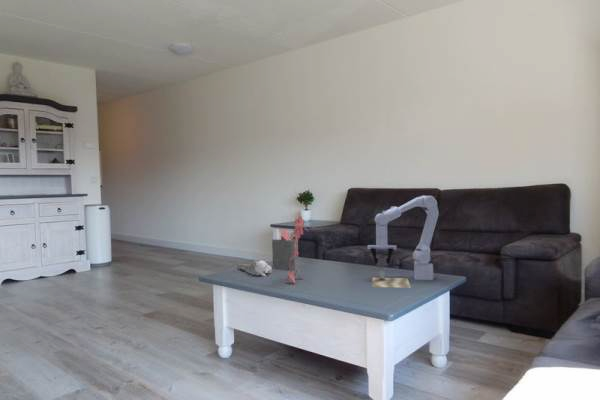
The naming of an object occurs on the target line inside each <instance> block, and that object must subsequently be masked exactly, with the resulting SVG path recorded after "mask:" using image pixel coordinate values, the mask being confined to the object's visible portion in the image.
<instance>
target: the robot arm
mask: <svg viewBox="0 0 600 400" xmlns="http://www.w3.org/2000/svg"><path fill="white" fill-rule="evenodd" d="M415 207H416V208H417V207H420V208H422V209H423V210H424V211H425V213H426V219H425V222H424V226H423V230H422V231H421V232H422V233H421V236H420V240H419V243H418V244H417V246H416V248H415V250H414V251H413V252H412V258H413V260H414V261H413V266H414V267H413V268H414V269H413V270H414V271H413V276H414V277H413V278H414V280H416V281H434V264H433V263H429V262H430V261H431V248H430V245H431V243H432V240H433V237H434V232H435V230H436V225H437V222H438V218H439V214H440V213H439V208H438V201H437V200H436V198H435V197H434V196H433V195H420V196H417V197H414V198H413V199H411V200H409V201H407V202H406V203H404V204H402V205H400V206H399V207H398V206H394V205H393V206H390V208H389V209H387V210H382V212H381V213H377V214H376V215H375V217H374V219H373V220H374V222H375V241H376V243H375V244H368V245H367V250H370V251H371V254H372V256H373V259H374V264H375V265H376V257H377V250H387V257H388V265H389V264H390V261H391V257H392V255H393V252H394V250H396V251H397V245H395V244H388V242H389V241H388V225H389V222H391V221H393V220H396V219H398V218H399V217H401V215H402V213H404V212H406V211H409V210H411V209H413V208H415Z"/></svg>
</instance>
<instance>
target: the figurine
mask: <svg viewBox="0 0 600 400" xmlns="http://www.w3.org/2000/svg"><path fill="white" fill-rule="evenodd" d="M294 222H295V226H294V230H293V232H292V234H291V235H290V236H289V233H288V232H287V231H286V230H284V229H283V228H281V230H280V235H281V236H282V237H283V238H284V239H285V241H288V240H290V238H291V240H292V239H293V241H295V251H294V253H293V254H294V256H295V264H298V258H297V256H299V252H298V242H297V240H299V239H301V236H302V235H304V231H303V229H305V230H306V232H308V233H310V231H309V230H308V229H307V228H306V227H305V226H304V223H305V220H304V219H302V215H298V217H296V218H295V220H294ZM295 238H296V239H297V240H296V239H295ZM294 256H293V257H294ZM293 257H292V258H293ZM292 258H291V259H292ZM291 259H290V260H291ZM290 260H289V263H290ZM297 272H298V274H299V276H300V277H301V279H302V280H303V276H302V274H300V272H299V267H298V265H296V267H295V272H294V274H293V272H292V271H291V267H290V270H288V276H287V278H286V280H285V283H287V282H288V280H289V279H290V281H291V282H292V283H293V284H294V285H295V284H296V278H295V276H296V274H297ZM312 279H314V280H315V278H313V277H312ZM279 285H281V286H282V285H283V284H282V283H280V284H279Z"/></svg>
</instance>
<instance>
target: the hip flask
mask: <svg viewBox="0 0 600 400" xmlns="http://www.w3.org/2000/svg"><path fill="white" fill-rule="evenodd" d="M280 238H281V239H278V238H277V239H275V238H274V239H272V240H271V242H272V243H271V244H272V246H271V247H272V249H271V250H272V252H271V253H272V269H274V268H278V270H285V269H286V271H290V267H291V272H292V271H296V256H294V254H293V253H294V251H296V242H295V241H294V240H292V239H288V241H285V239H284V238H283V237H282V235H281V236H280ZM293 256H294V257H293ZM292 257H293V258H292ZM291 258H292V259H291ZM290 259H291V260H290ZM289 260H290V263H289Z"/></svg>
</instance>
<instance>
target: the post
mask: <svg viewBox="0 0 600 400" xmlns="http://www.w3.org/2000/svg"><path fill="white" fill-rule="evenodd" d="M379 278H380V280H381V281H384V280H385V278H386V271H385V270H384V269H380V271H379Z"/></svg>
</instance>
